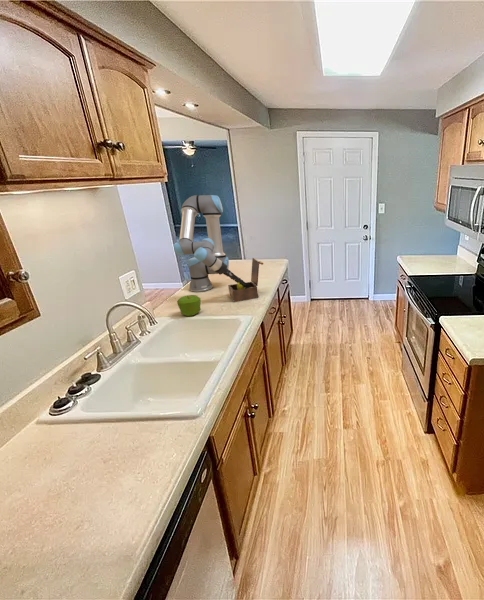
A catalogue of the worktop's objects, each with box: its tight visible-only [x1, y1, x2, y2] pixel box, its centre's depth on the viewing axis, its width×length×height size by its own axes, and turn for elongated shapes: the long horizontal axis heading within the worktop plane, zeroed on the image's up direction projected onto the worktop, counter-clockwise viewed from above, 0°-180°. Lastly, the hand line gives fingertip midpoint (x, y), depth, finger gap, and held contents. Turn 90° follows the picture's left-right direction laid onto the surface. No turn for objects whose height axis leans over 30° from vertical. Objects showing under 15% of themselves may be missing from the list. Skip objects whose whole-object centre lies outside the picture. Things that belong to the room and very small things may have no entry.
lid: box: [250, 257, 264, 287], centre depth 221 cm, size 16×14×5 cm
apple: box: [176, 294, 202, 317], centre depth 192 cm, size 12×12×11 cm
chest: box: [227, 281, 259, 303], centre depth 220 cm, size 16×14×8 cm
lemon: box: [234, 277, 245, 289], centre depth 218 cm, size 7×6×10 cm
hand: (245, 285), depth 220 cm, fingers closed on lemon, 8 cm apart
